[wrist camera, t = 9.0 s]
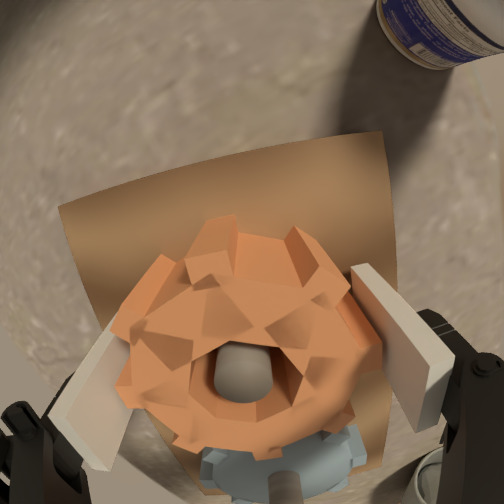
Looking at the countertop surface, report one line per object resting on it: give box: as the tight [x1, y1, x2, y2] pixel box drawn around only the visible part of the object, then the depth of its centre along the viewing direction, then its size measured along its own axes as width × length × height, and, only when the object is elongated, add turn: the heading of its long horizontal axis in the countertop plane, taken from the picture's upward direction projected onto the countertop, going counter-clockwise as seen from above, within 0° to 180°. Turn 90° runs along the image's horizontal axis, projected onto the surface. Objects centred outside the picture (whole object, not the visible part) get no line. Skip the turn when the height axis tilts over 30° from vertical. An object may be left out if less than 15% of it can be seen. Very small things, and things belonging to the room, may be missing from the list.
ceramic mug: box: [401, 447, 443, 504], centre depth 18 cm, size 11×8×8 cm
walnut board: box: [58, 130, 397, 504], centre depth 13 cm, size 23×14×6 cm, turn 12°
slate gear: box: [199, 424, 367, 504], centre depth 15 cm, size 10×10×2 cm
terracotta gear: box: [109, 214, 382, 461], centre depth 11 cm, size 9×9×4 cm
